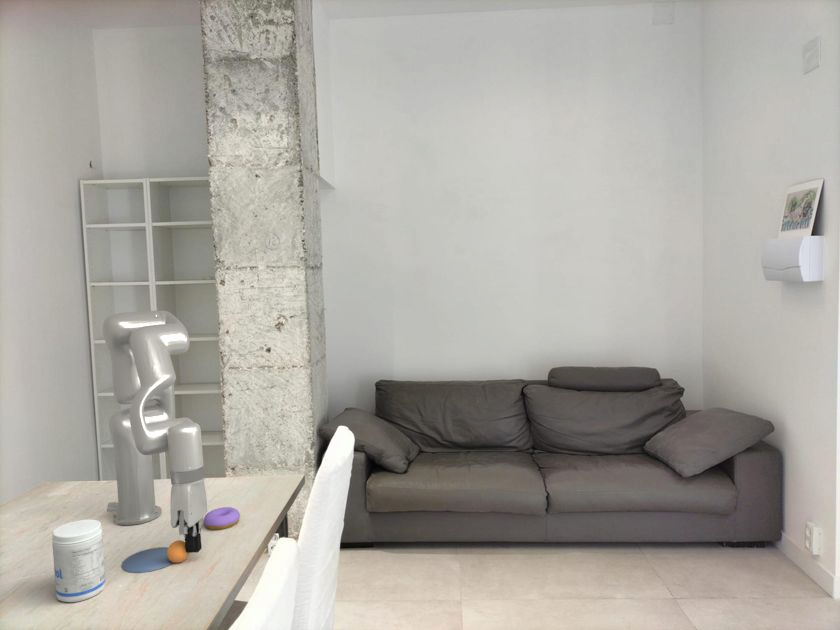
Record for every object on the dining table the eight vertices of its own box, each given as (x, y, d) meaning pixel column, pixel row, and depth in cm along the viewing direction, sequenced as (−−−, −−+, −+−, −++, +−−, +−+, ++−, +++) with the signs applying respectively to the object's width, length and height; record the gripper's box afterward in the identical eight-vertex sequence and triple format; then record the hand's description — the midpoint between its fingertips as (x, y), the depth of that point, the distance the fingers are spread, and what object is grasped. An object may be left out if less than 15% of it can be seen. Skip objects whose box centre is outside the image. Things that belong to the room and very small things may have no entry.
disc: (110, 572, 145) (110, 571, 145) (139, 547, 158) (139, 547, 158) (163, 572, 144) (163, 572, 144) (189, 547, 157) (189, 547, 157)
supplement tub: (49, 595, 136) (44, 529, 135) (95, 577, 143) (90, 515, 142) (67, 609, 130) (61, 540, 129) (113, 590, 137) (109, 525, 136)
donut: (230, 531, 166) (225, 514, 166) (199, 537, 168) (195, 519, 168) (247, 516, 175) (243, 500, 175) (218, 522, 177) (214, 505, 177)
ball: (183, 568, 147) (162, 565, 148) (192, 556, 152) (172, 552, 153) (184, 549, 146) (163, 546, 147) (193, 537, 151) (173, 534, 151)
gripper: (186, 467, 156) (192, 539, 157) (156, 486, 141) (163, 565, 142) (215, 465, 155) (221, 538, 156) (188, 484, 140) (195, 564, 141)
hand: (193, 551), depth 149 cm, fingers closed
